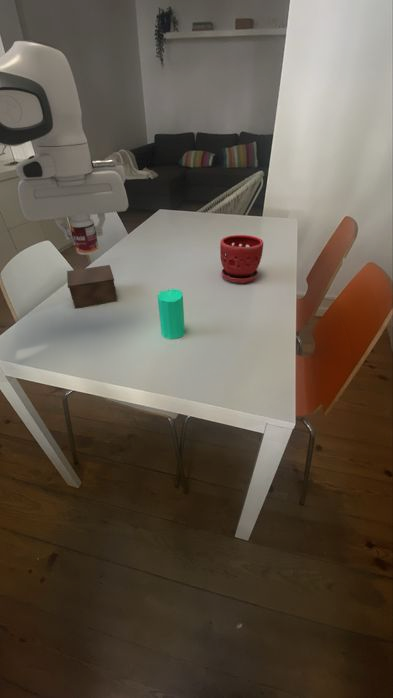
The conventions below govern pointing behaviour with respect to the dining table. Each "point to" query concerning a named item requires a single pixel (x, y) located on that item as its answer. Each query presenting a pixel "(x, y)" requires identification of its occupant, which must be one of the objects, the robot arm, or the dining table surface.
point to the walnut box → (91, 286)
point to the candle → (171, 313)
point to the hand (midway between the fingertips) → (84, 237)
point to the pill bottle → (84, 234)
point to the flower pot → (240, 257)
